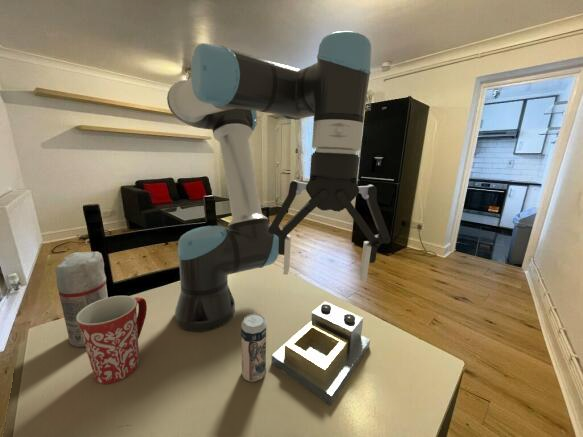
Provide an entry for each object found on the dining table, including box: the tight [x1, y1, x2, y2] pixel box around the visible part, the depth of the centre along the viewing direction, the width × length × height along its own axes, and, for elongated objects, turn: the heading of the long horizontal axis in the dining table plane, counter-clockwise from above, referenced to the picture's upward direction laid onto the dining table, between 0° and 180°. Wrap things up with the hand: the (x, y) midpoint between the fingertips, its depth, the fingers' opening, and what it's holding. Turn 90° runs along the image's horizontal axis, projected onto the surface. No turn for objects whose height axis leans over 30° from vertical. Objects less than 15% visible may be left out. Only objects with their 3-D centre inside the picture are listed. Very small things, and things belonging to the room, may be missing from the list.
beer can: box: [240, 313, 268, 383], centre depth 47 cm, size 5×5×12 cm
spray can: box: [54, 251, 109, 348], centre depth 55 cm, size 8×8×20 cm
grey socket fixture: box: [271, 301, 371, 406], centre depth 53 cm, size 14×18×8 cm
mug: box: [76, 295, 148, 385], centre depth 49 cm, size 13×9×14 cm
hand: (324, 274), depth 44 cm, fingers open, 13 cm apart
